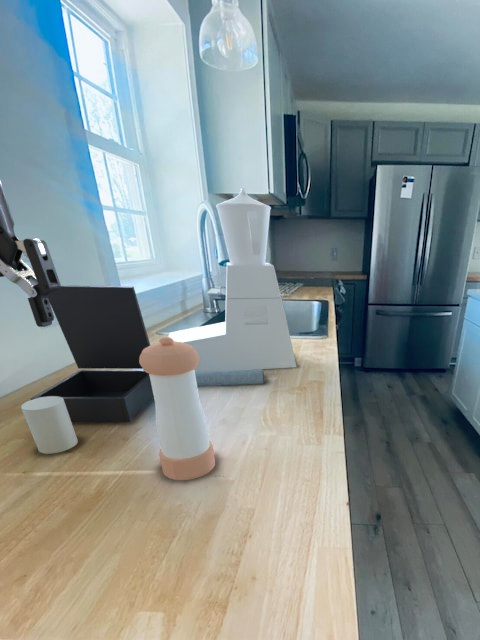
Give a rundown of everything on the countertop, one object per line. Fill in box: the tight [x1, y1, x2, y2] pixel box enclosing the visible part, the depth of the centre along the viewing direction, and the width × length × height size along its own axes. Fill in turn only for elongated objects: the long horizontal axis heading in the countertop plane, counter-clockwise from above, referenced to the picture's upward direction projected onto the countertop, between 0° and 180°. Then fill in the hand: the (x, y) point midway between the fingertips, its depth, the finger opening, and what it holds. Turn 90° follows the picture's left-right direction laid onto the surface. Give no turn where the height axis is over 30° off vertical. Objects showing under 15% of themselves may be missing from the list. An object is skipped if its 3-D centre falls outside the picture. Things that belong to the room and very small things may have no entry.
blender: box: [167, 188, 297, 372], centre depth 90 cm, size 33×18×40 cm, turn 104°
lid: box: [48, 284, 151, 370], centre depth 73 cm, size 16×16×6 cm
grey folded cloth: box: [195, 369, 265, 387], centre depth 84 cm, size 23×7×3 cm, turn 100°
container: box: [20, 396, 79, 455], centre depth 56 cm, size 5×5×8 cm
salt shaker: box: [139, 336, 216, 481], centre depth 49 cm, size 7×7×19 cm
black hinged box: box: [30, 369, 154, 423], centre depth 71 cm, size 16×16×5 cm
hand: (12, 325), depth 49 cm, fingers open, 8 cm apart
